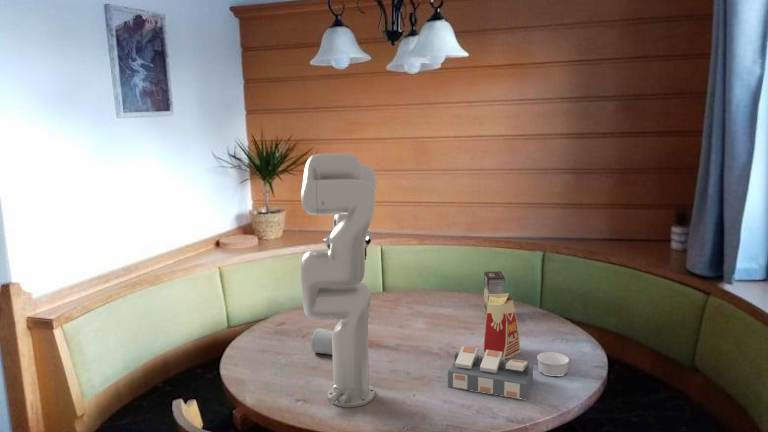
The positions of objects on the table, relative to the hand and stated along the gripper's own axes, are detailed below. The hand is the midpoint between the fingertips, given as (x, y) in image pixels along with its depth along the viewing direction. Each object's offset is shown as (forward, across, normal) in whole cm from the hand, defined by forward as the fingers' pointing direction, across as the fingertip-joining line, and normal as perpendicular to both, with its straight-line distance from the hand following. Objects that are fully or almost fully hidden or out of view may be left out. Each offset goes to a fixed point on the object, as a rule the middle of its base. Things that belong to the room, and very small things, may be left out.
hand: (349, 261), depth 184 cm
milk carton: (+28, +36, -31) cm, 56 cm away
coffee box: (+28, +57, -5) cm, 64 cm away
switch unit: (+28, +19, -46) cm, 57 cm away
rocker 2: (+22, +23, -51) cm, 60 cm away
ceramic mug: (+28, -8, 0) cm, 30 cm away
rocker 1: (+22, +15, -40) cm, 48 cm away
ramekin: (+29, +40, -50) cm, 70 cm away
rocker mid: (+22, +19, -46) cm, 54 cm away
